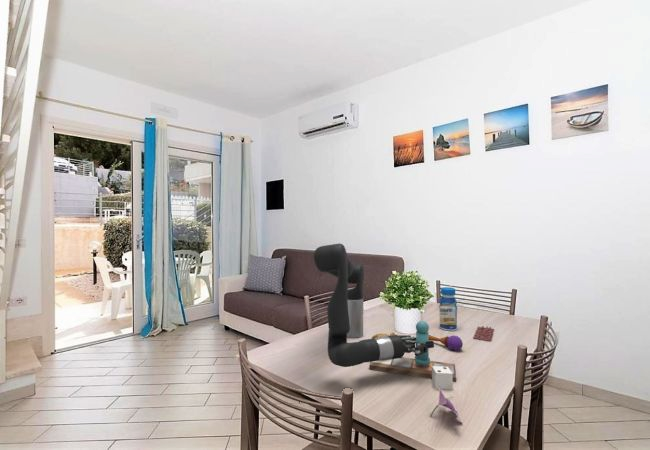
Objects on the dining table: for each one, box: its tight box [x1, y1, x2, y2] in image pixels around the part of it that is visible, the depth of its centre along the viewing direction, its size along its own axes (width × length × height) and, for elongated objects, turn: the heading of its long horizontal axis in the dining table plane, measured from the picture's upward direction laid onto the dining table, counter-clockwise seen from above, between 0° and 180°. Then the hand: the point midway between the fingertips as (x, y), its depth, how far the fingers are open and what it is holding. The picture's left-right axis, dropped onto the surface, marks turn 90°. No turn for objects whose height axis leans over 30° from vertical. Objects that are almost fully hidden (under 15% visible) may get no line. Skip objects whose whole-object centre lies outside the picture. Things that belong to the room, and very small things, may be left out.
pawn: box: [414, 320, 431, 366], centre depth 113 cm, size 5×5×14 cm
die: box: [431, 366, 454, 390], centre depth 102 cm, size 5×5×5 cm
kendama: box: [429, 334, 464, 352], centre depth 137 cm, size 6×6×20 cm
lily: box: [429, 374, 463, 424], centre depth 85 cm, size 12×12×10 cm
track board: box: [368, 356, 457, 383], centre depth 114 cm, size 29×11×2 cm, turn 70°
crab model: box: [370, 332, 396, 339], centre depth 136 cm, size 16×13×6 cm
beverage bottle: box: [438, 286, 458, 332], centre depth 159 cm, size 8×8×20 cm
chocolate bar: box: [472, 325, 495, 343], centre depth 151 cm, size 7×19×2 cm, turn 149°
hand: (428, 341), depth 114 cm, fingers closed on pawn, 4 cm apart
